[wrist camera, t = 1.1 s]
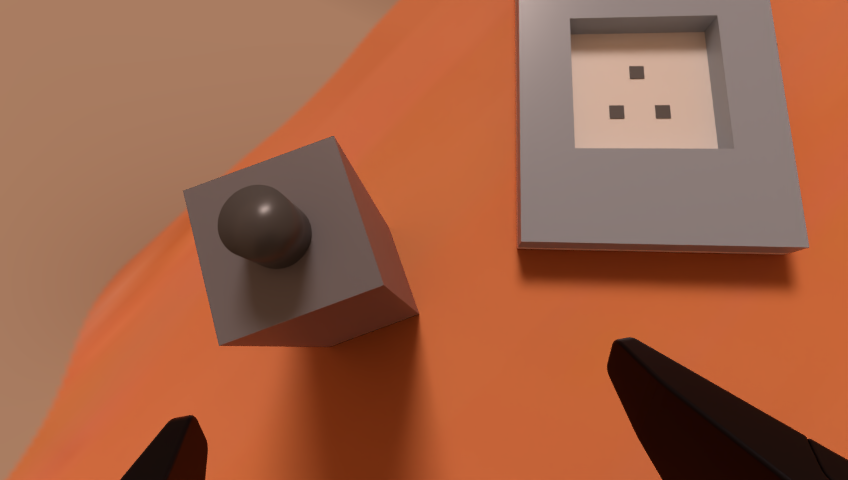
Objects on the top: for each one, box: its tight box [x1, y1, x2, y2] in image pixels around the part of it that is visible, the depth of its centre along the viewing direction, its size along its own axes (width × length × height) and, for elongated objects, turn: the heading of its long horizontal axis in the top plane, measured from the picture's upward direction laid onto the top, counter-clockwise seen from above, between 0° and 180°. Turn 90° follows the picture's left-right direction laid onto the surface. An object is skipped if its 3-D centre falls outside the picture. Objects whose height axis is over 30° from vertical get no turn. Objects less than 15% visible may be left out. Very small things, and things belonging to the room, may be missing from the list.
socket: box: [515, 0, 809, 255], centre depth 22 cm, size 16×12×2 cm
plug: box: [183, 136, 419, 347], centre depth 16 cm, size 4×4×12 cm
